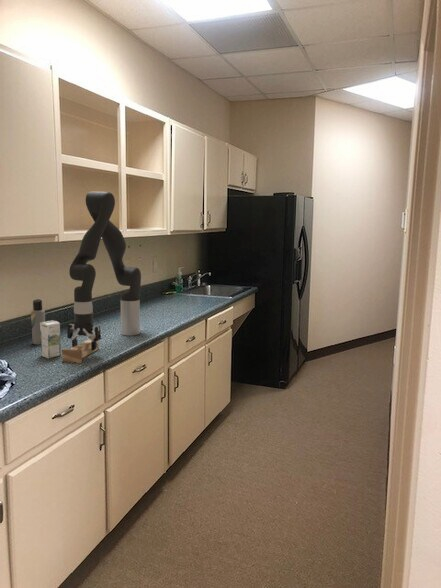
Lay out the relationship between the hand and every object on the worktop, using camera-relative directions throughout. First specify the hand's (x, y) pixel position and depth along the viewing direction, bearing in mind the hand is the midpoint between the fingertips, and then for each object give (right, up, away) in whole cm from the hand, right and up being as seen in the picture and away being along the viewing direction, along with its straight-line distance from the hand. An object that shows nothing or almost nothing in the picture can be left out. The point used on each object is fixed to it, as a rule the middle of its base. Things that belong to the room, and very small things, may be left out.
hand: (84, 349), depth 192 cm
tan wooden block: (0, -2, +1) cm, 3 cm away
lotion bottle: (-25, +1, +16) cm, 30 cm away
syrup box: (-13, -3, -2) cm, 14 cm away
